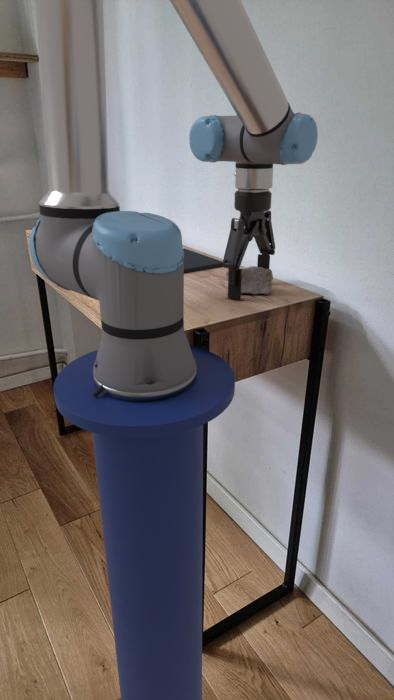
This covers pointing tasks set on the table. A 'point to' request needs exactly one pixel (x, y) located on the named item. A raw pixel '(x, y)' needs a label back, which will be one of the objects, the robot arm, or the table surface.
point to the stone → (256, 280)
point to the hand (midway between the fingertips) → (249, 290)
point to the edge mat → (198, 261)
